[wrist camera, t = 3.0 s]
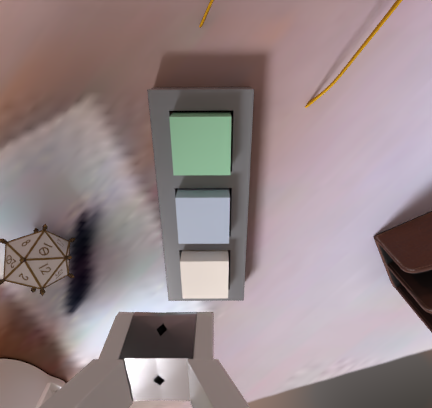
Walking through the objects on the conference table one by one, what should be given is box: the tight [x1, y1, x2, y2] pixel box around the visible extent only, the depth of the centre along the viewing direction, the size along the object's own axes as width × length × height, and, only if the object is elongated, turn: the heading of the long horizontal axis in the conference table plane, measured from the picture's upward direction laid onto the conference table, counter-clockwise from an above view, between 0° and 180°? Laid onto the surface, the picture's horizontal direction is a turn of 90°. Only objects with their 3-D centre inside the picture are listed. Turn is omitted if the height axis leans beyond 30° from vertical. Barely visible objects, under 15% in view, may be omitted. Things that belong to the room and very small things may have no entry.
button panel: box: [147, 87, 254, 301], centre depth 36 cm, size 28×11×3 cm, turn 0°
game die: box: [0, 224, 75, 296], centre depth 37 cm, size 9×8×10 cm
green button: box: [169, 112, 231, 175], centre depth 30 cm, size 6×6×3 cm
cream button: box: [180, 250, 229, 299], centre depth 38 cm, size 6×6×3 cm
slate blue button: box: [175, 188, 230, 244], centre depth 34 cm, size 6×6×3 cm
